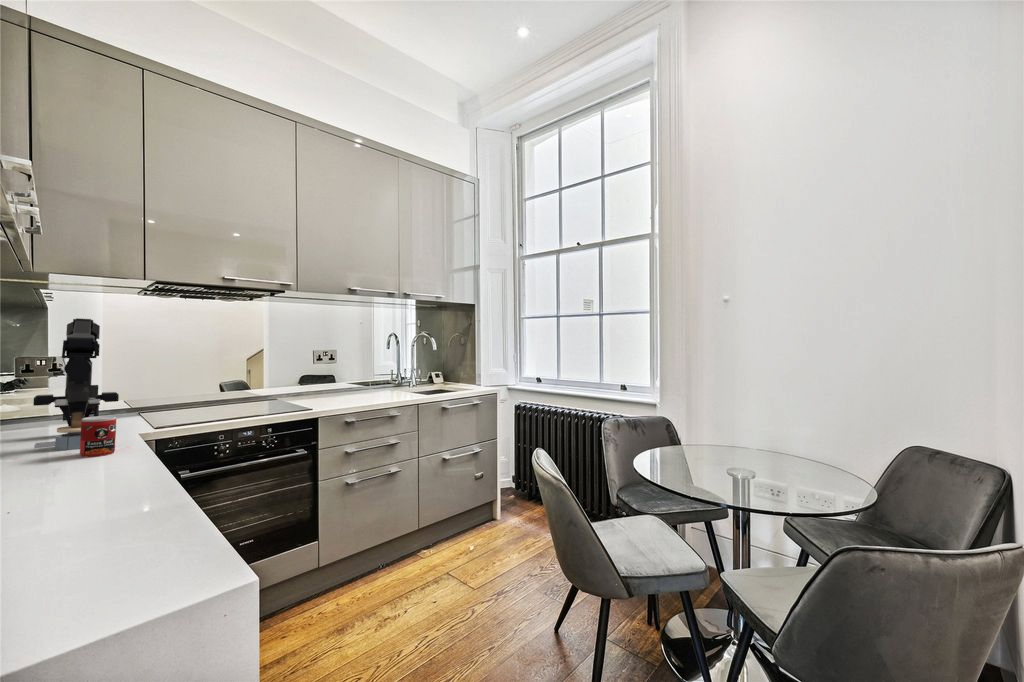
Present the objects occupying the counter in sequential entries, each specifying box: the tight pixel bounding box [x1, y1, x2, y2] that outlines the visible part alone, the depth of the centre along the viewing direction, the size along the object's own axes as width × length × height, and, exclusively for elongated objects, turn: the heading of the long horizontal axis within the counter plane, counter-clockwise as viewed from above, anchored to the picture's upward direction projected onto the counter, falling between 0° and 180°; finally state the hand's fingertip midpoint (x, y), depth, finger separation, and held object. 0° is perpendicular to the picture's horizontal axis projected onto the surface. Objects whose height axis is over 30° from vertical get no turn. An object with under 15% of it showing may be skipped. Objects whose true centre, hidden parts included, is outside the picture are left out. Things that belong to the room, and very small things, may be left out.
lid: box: [56, 412, 84, 434], centre depth 136 cm, size 9×9×6 cm
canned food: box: [79, 415, 117, 458], centre depth 129 cm, size 8×8×11 cm
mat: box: [34, 440, 55, 449], centre depth 140 cm, size 10×8×1 cm
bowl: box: [54, 432, 81, 451], centre depth 136 cm, size 9×9×4 cm
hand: (76, 425), depth 136 cm, fingers closed on lid, 3 cm apart
